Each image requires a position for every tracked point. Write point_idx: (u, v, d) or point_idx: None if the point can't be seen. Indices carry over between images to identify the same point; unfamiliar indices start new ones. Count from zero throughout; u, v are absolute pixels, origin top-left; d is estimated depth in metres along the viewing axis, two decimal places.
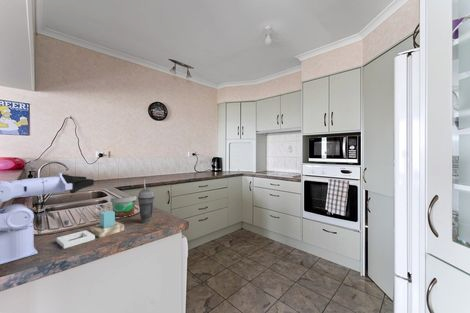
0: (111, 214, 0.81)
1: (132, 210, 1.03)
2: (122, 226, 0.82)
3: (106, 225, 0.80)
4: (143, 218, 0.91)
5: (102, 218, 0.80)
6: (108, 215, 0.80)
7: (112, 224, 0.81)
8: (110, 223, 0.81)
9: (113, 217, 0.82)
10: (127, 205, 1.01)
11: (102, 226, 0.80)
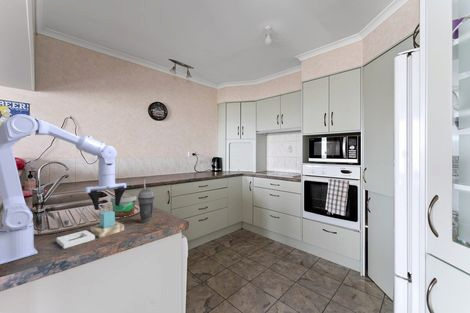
0: (111, 214, 0.81)
1: (132, 210, 1.03)
2: (122, 226, 0.82)
3: (106, 225, 0.80)
4: (143, 218, 0.91)
5: (102, 218, 0.80)
6: (108, 215, 0.80)
7: (112, 224, 0.81)
8: (110, 223, 0.81)
9: (113, 217, 0.82)
10: (127, 205, 1.01)
11: (102, 226, 0.80)
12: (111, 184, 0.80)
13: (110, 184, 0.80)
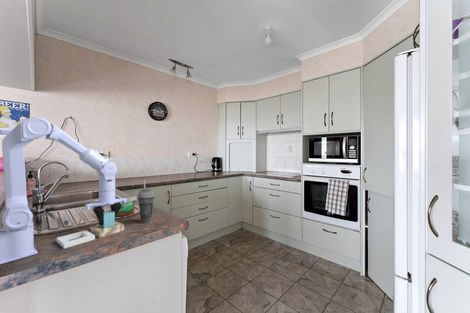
0: (111, 214, 0.81)
1: (132, 210, 1.03)
2: (122, 226, 0.82)
3: (106, 225, 0.80)
4: (143, 218, 0.91)
5: None
6: (108, 215, 0.80)
7: (112, 224, 0.81)
8: (110, 223, 0.81)
9: (113, 217, 0.82)
10: (127, 205, 1.01)
11: (102, 226, 0.80)
12: (111, 200, 0.80)
13: (110, 200, 0.80)
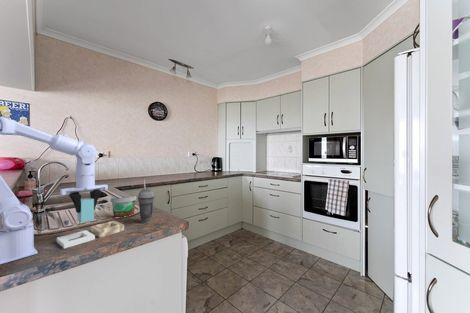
0: (90, 201, 0.75)
1: (132, 210, 1.03)
2: (122, 226, 0.82)
3: (84, 212, 0.73)
4: (143, 218, 0.91)
5: None
6: (86, 202, 0.74)
7: (91, 212, 0.75)
8: (89, 210, 0.75)
9: (92, 204, 0.76)
10: (127, 205, 1.01)
11: (79, 213, 0.74)
12: (90, 186, 0.74)
13: (88, 186, 0.74)
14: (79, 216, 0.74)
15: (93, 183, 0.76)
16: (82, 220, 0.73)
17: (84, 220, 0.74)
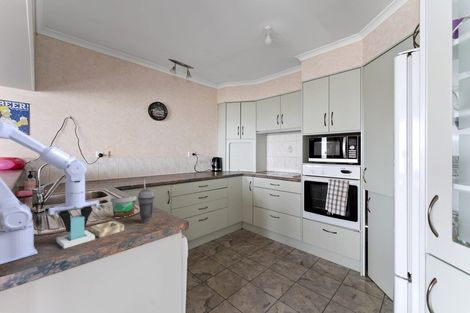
0: (80, 219, 0.73)
1: (132, 210, 1.03)
2: (122, 226, 0.82)
3: (74, 231, 0.71)
4: (143, 218, 0.91)
5: None
6: (76, 220, 0.72)
7: (81, 230, 0.73)
8: (79, 229, 0.72)
9: (82, 222, 0.73)
10: (127, 205, 1.01)
11: (69, 233, 0.71)
12: (80, 203, 0.72)
13: (78, 204, 0.71)
14: (69, 235, 0.71)
15: (83, 200, 0.73)
16: (72, 239, 0.71)
17: None
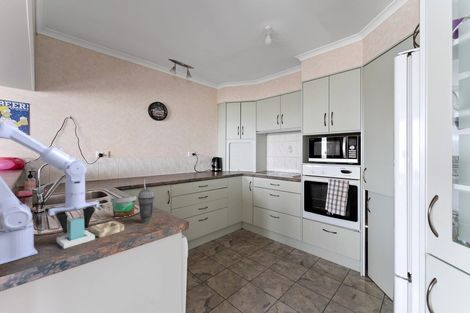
0: (80, 221, 0.72)
1: (132, 210, 1.03)
2: (122, 226, 0.82)
3: (73, 234, 0.71)
4: (143, 218, 0.91)
5: (69, 226, 0.71)
6: (76, 222, 0.72)
7: (81, 232, 0.73)
8: (79, 231, 0.72)
9: (82, 224, 0.73)
10: (127, 205, 1.01)
11: (69, 235, 0.71)
12: (80, 204, 0.72)
13: (78, 204, 0.71)
14: (69, 237, 0.71)
15: (83, 201, 0.73)
16: None
17: None
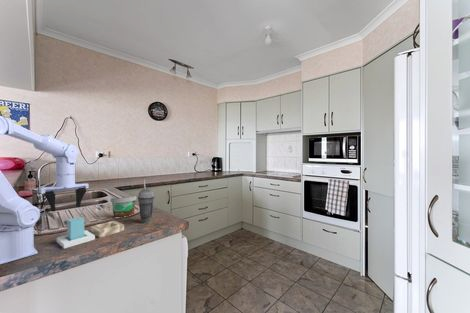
0: (80, 221, 0.72)
1: (132, 210, 1.03)
2: (122, 226, 0.82)
3: (73, 234, 0.71)
4: (143, 218, 0.91)
5: (69, 226, 0.71)
6: (76, 222, 0.72)
7: (81, 232, 0.73)
8: (79, 231, 0.72)
9: (82, 224, 0.73)
10: (127, 205, 1.01)
11: (69, 235, 0.71)
12: (69, 184, 0.77)
13: (68, 184, 0.77)
14: (69, 237, 0.71)
15: (73, 182, 0.78)
16: None
17: None
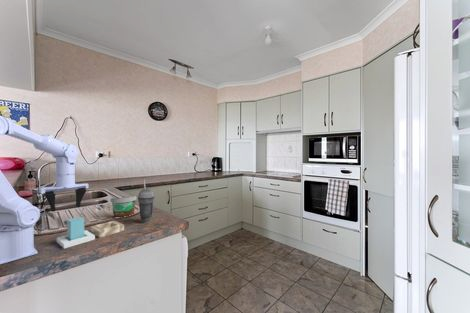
0: (80, 221, 0.72)
1: (132, 210, 1.03)
2: (122, 226, 0.82)
3: (73, 234, 0.71)
4: (143, 218, 0.91)
5: (69, 226, 0.71)
6: (76, 222, 0.72)
7: (81, 232, 0.73)
8: (79, 231, 0.72)
9: (82, 224, 0.73)
10: (127, 205, 1.01)
11: (69, 235, 0.71)
12: (69, 184, 0.77)
13: (68, 184, 0.77)
14: (69, 237, 0.71)
15: (73, 182, 0.78)
16: None
17: None
